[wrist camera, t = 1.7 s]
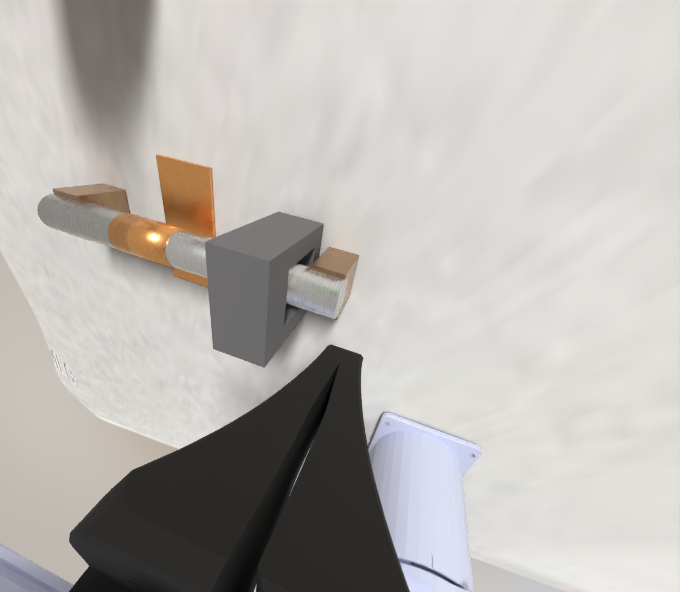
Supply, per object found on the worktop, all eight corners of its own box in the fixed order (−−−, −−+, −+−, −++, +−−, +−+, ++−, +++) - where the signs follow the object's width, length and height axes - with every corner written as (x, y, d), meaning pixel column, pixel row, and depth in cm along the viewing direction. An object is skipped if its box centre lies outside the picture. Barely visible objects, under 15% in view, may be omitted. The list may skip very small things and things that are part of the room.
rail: (370, 207, 16) (351, 225, 12) (342, 329, 20) (322, 370, 16) (91, 137, 19) (6, 134, 15) (121, 257, 23) (62, 277, 20)
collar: (323, 223, 16) (269, 261, 11) (311, 305, 20) (264, 367, 14) (278, 211, 17) (204, 241, 11) (273, 293, 20) (213, 348, 14)
